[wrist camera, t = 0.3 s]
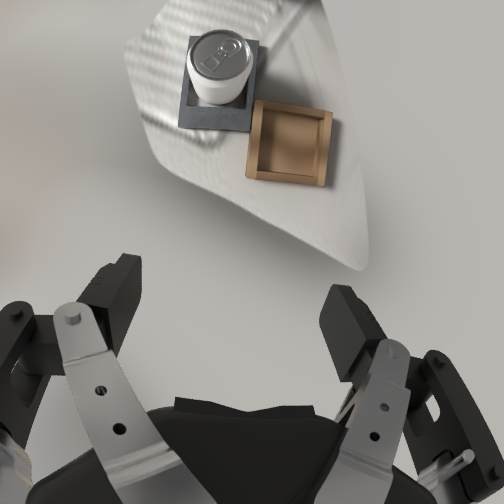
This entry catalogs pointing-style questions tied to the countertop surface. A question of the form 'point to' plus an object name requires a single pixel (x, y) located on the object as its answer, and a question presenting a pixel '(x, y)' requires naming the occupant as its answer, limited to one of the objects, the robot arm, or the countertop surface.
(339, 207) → the countertop surface
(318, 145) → the open wooden box
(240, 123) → the gray rectangular tray
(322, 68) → the countertop surface
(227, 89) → the can
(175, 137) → the countertop surface
